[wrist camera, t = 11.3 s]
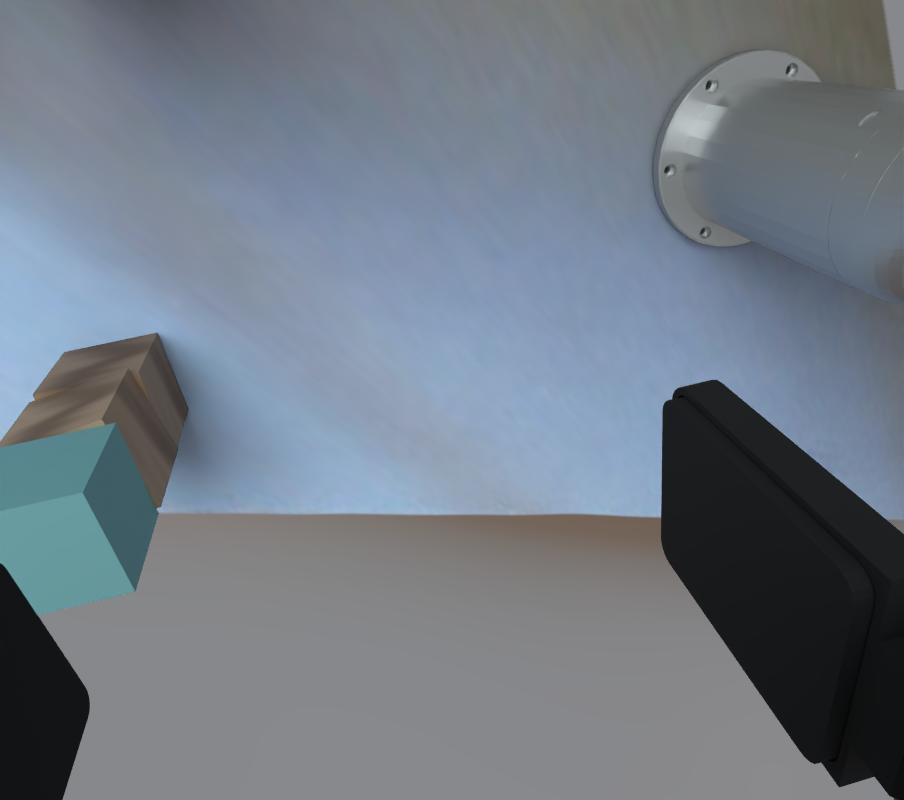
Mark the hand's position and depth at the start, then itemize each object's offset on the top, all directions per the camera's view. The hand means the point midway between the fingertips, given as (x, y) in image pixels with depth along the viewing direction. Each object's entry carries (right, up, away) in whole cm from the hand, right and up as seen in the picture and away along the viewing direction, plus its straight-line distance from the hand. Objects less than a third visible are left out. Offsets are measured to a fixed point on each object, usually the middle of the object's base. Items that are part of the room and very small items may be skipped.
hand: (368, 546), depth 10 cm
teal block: (-18, -2, +25) cm, 31 cm away
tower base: (-21, +3, +36) cm, 42 cm away
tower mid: (-20, 0, +31) cm, 36 cm away
